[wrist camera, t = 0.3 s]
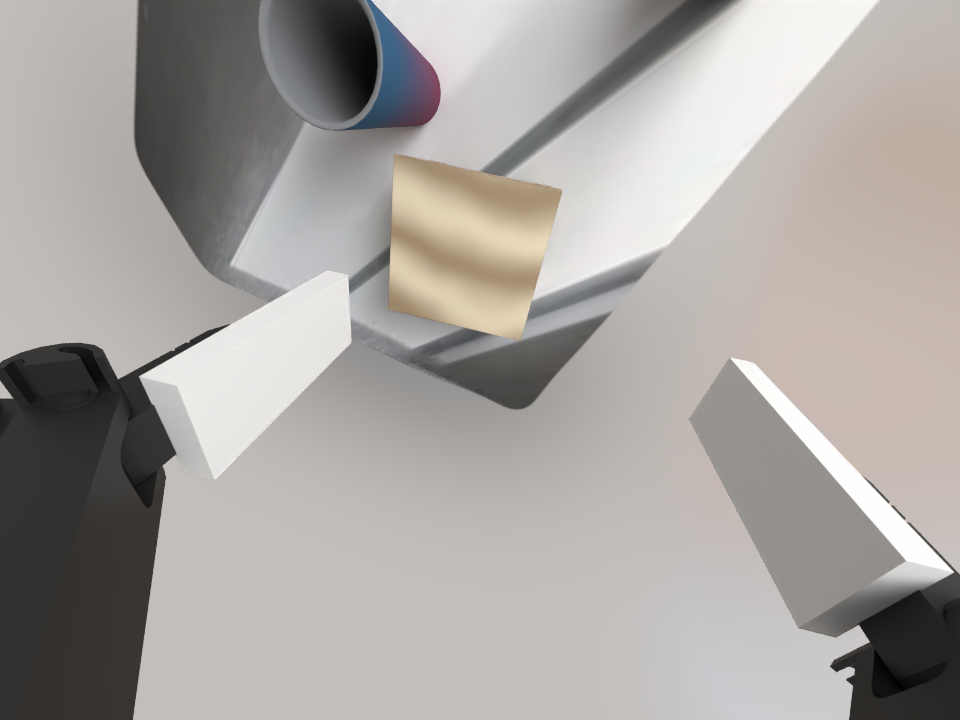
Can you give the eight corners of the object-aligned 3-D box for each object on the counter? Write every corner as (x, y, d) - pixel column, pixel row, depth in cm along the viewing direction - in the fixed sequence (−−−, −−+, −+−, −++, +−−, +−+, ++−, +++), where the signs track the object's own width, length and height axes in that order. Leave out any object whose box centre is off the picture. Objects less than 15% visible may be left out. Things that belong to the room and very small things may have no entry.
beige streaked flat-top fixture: (425, 153, 33) (393, 154, 26) (558, 182, 32) (562, 191, 26) (414, 282, 40) (388, 309, 33) (524, 307, 39) (520, 340, 33)
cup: (382, 137, 33) (280, 131, 20) (370, 41, 29) (237, -38, 17) (452, 136, 32) (391, 130, 19) (448, 38, 28) (371, -50, 16)
